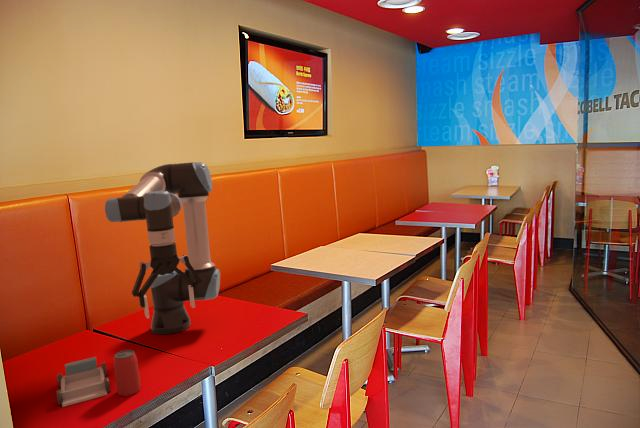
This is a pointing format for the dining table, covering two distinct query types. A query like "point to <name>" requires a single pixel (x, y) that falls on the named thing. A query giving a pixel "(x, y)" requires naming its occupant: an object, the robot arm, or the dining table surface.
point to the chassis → (82, 382)
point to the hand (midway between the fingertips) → (170, 311)
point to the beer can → (126, 373)
